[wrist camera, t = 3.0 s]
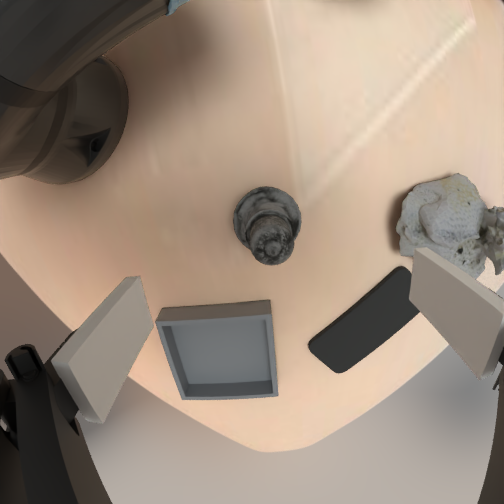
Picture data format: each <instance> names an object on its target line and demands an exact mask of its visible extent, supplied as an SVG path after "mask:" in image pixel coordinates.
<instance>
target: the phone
mask: <svg viewBox="0 0 504 504" xmlns="http://www.w3.org/2000/svg"><path fill="white" fill-rule="evenodd" d="M411 278H412V274H411V273H410V271H409V270H408V269H407V268H405V267H403V266H400V267H398V268H396V269H395V270H394V271H393V272H392V273H390V274H389V275H388V276H387V277H386V278H385V279H384V280H383V281H382V282H380V283H379V284H378V285H377V286H376V287H375V288H374V289H372V290H371V291H370V292H369V293H368V294H367V295H366V296H364V297H363V298H362V299H361V300H360V301H359V302H357V303H356V304H355V305H354V306H353V307H351V308H350V309H349V310H348V311H346V312H345V313H344V314H343V315H342V316H340V317H339V318H338V319H337V320H335V321H334V322H333V323H332V324H330V325H329V326H328V327H326V328H325V329H324V330H323V331H321V332H320V333H319V334H317V335H316V336H315V337H314V338H312V339H311V340H310V342H309V344H308V346H309V350H310V352H311V353H312V354H314V355H315V356H316V357H317V358H318V359H319V360H321V361H322V362H323V363H324V364H325V365H326V366H328V367H329V368H330V369H331V370H332V371H334V372H335V373H343V372H345V371H347V370H348V369H350V368H351V367H353V366H354V365H355V364H357V363H358V362H359V361H361V360H362V359H363V358H365V357H366V356H367V355H369V354H370V353H371V352H373V351H374V350H375V349H376V348H378V347H379V346H380V345H382V344H383V343H384V342H385V341H387V340H388V339H389V338H390V337H391V336H393V335H394V334H395V333H396V332H397V331H399V330H400V329H401V328H402V327H403V326H405V325H406V324H407V323H408V322H409V321H410V320H411V319H413V318H414V317H415V316H416V315H417V314H418V313H419V312H420V311H419V310H418V309H417V308H416V307H415V305H414V304H413V303H412V302H411V301H410V300H409V295H410V287H411Z"/></svg>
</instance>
